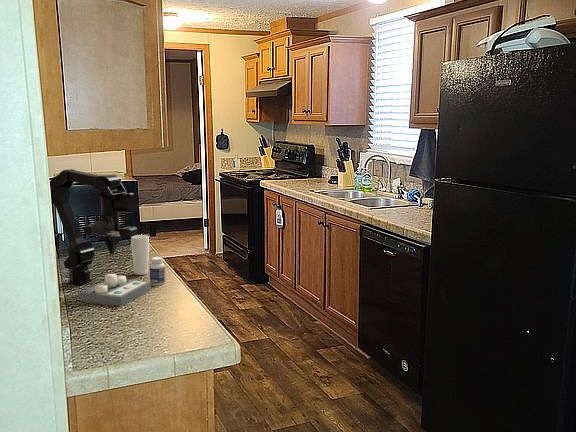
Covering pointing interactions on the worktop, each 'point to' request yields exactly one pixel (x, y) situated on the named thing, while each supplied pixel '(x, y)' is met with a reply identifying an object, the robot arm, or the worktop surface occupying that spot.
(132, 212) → the robot arm
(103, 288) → the button
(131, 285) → the button board
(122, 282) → the button
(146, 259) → the white tall cylinder
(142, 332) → the worktop surface
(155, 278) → the pill bottle
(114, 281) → the button
